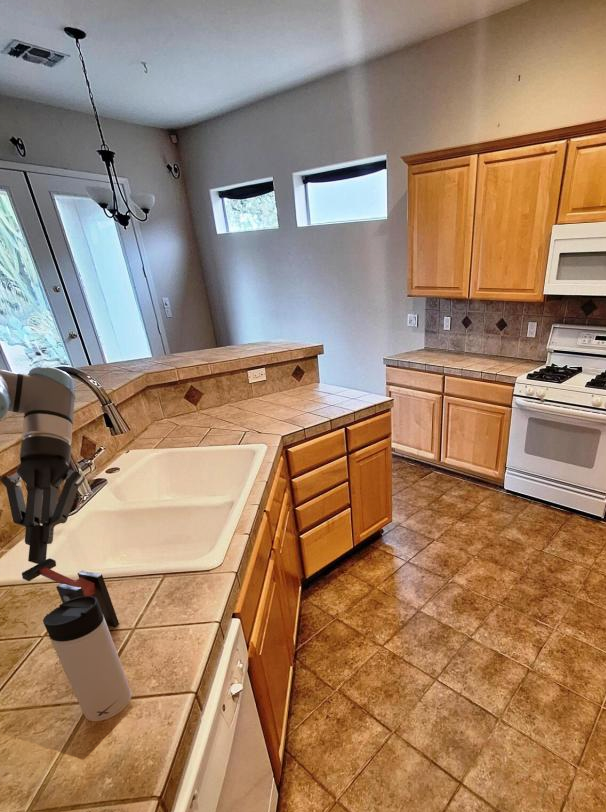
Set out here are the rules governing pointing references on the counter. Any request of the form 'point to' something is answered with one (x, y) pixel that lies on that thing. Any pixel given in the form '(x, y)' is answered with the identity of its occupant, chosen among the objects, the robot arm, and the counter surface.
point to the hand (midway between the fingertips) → (37, 561)
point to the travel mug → (88, 657)
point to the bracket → (100, 593)
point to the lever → (58, 576)
